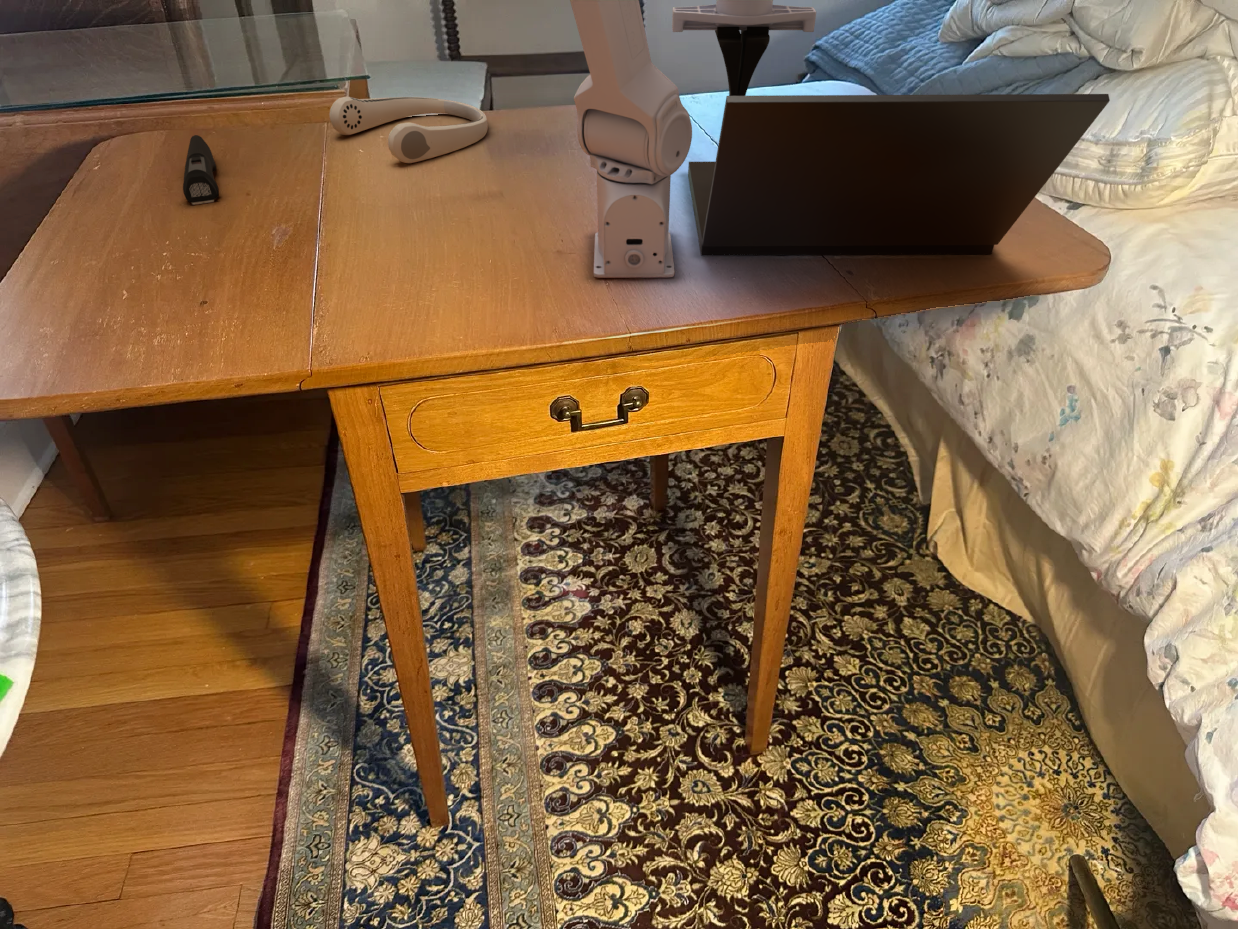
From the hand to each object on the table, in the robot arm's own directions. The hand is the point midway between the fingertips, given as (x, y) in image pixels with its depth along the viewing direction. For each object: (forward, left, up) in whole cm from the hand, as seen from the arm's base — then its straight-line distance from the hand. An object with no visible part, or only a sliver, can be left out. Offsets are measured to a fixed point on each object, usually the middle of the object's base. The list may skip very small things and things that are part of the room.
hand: (736, 102), depth 94 cm
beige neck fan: (+20, +39, -11) cm, 45 cm away
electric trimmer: (+5, +63, -11) cm, 65 cm away
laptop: (-5, -11, -10) cm, 16 cm away
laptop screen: (-21, -11, 0) cm, 24 cm away
